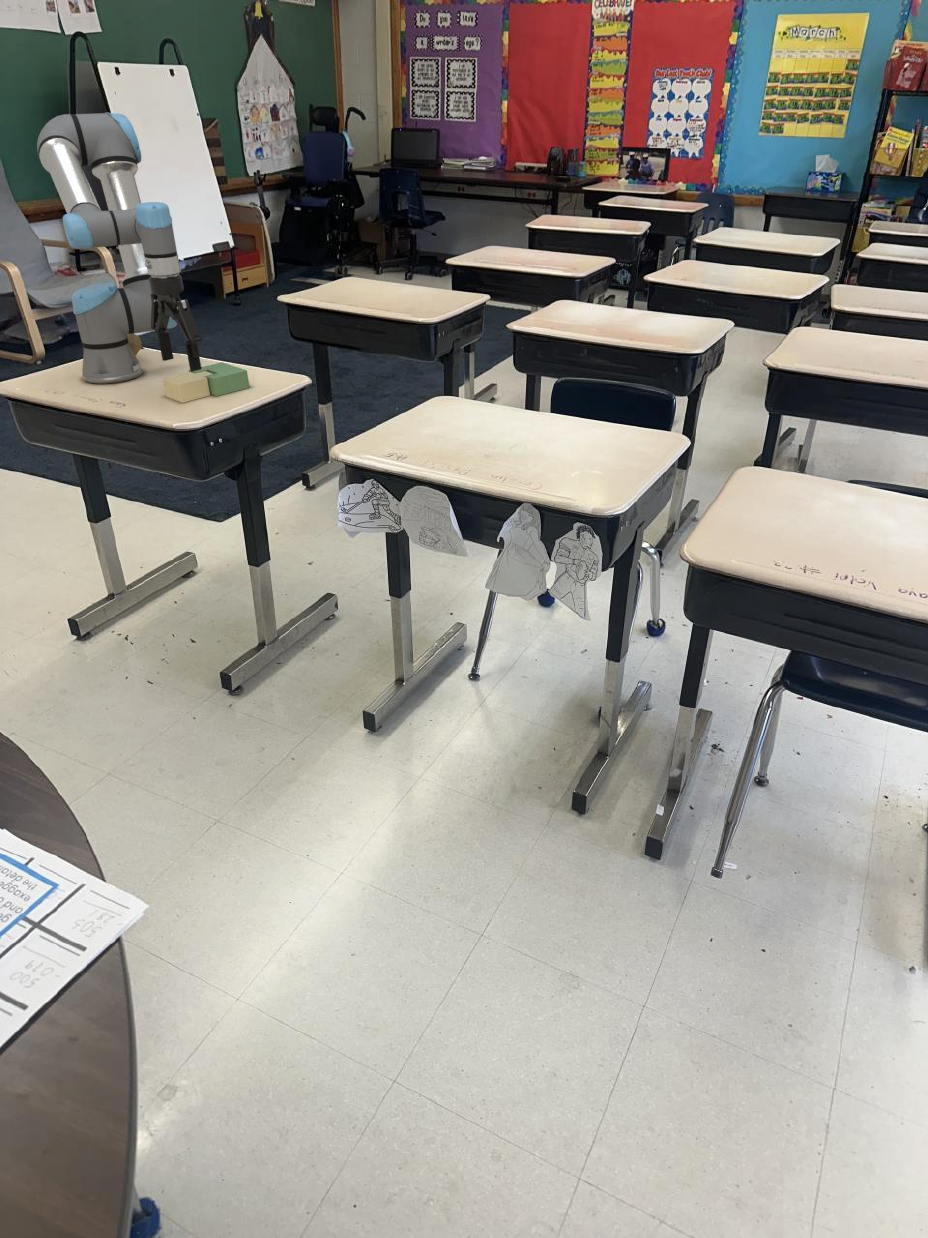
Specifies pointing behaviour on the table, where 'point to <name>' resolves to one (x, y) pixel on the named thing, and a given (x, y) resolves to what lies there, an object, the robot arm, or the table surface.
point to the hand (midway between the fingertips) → (181, 364)
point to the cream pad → (187, 386)
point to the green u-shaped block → (225, 378)
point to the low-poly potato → (134, 343)
